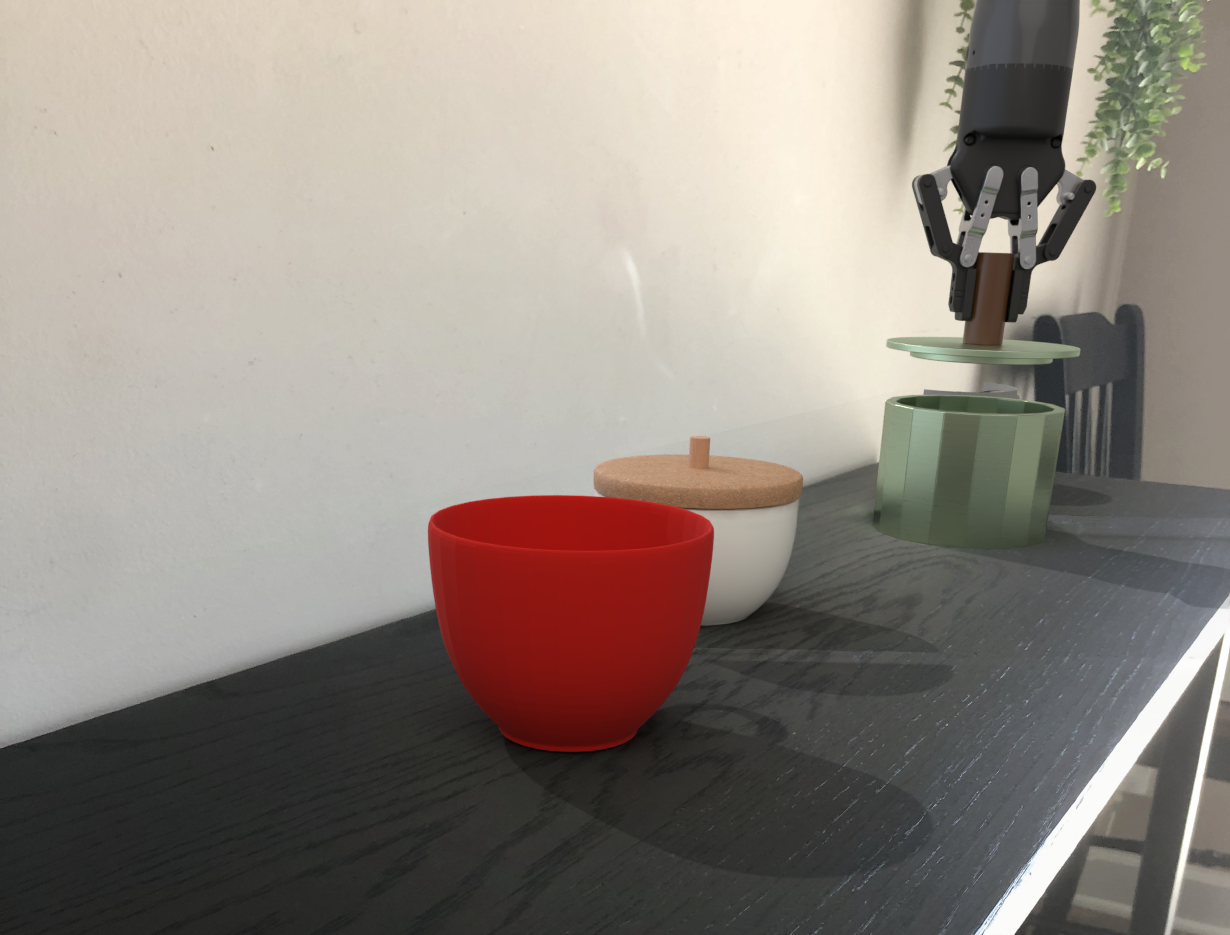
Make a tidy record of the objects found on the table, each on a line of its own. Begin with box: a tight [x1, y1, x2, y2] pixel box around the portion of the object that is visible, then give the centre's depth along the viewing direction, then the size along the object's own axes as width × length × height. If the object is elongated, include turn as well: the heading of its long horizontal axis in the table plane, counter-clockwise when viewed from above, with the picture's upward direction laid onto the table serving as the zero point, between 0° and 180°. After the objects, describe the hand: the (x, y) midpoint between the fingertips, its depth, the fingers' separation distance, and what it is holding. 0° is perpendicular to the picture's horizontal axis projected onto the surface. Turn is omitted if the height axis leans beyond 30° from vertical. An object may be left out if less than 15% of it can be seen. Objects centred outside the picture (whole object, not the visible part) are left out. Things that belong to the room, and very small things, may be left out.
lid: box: [885, 251, 1081, 366], centre depth 102 cm, size 15×15×8 cm
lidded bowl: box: [593, 435, 804, 626], centre depth 81 cm, size 13×13×11 cm
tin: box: [872, 394, 1066, 550], centre depth 107 cm, size 14×14×10 cm
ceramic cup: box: [427, 494, 714, 753], centre depth 64 cm, size 13×17×10 cm
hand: (985, 319), depth 102 cm, fingers closed on lid, 3 cm apart
